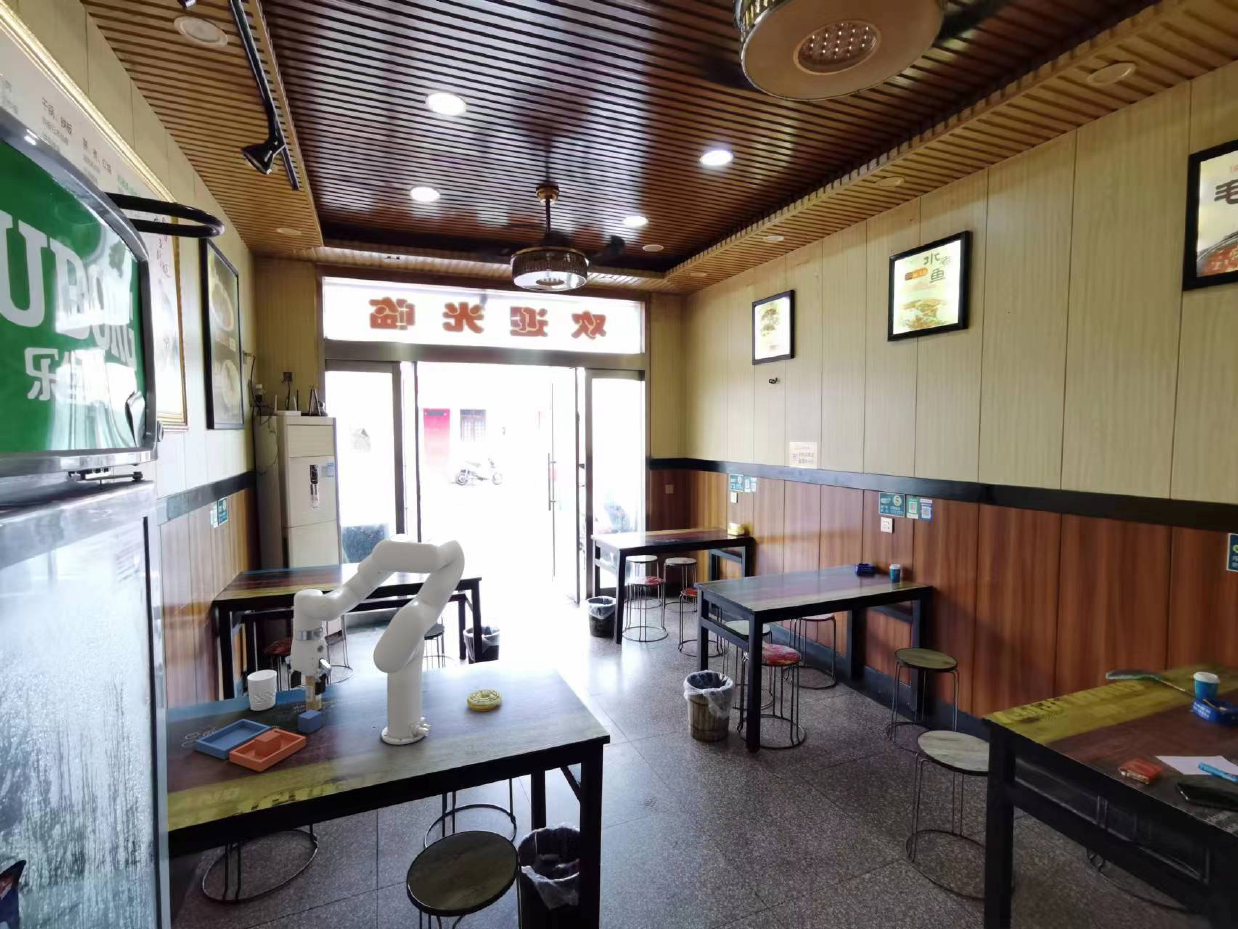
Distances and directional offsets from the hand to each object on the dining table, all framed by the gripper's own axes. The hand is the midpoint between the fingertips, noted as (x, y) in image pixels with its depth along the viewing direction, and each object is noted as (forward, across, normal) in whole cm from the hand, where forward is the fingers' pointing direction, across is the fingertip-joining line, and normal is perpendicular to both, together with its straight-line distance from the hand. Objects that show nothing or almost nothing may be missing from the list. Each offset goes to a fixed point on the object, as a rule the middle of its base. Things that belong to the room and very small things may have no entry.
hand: (307, 690), depth 174 cm
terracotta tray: (+12, -2, +14) cm, 18 cm away
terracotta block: (+11, -2, +14) cm, 18 cm away
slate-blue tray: (+12, +12, +14) cm, 22 cm away
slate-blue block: (+12, -1, 0) cm, 12 cm away
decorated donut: (+11, -39, -33) cm, 52 cm away
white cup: (+12, +24, -4) cm, 28 cm away
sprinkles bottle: (+12, +8, -9) cm, 17 cm away
